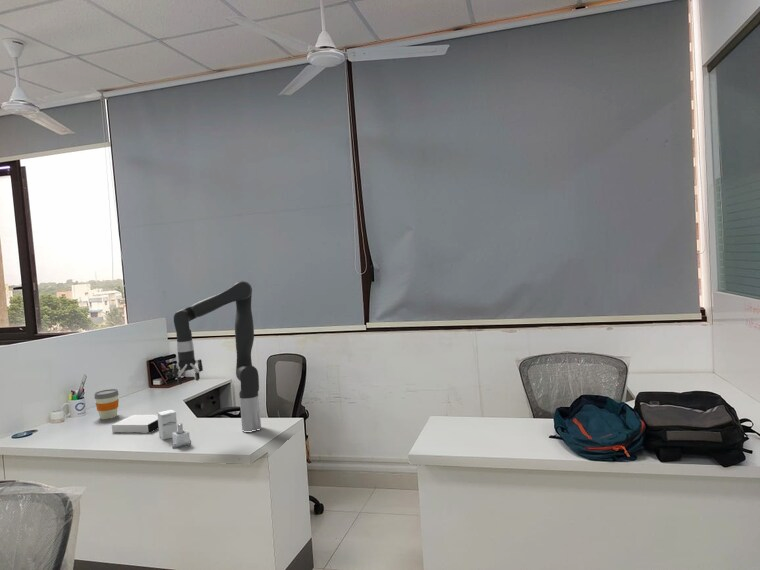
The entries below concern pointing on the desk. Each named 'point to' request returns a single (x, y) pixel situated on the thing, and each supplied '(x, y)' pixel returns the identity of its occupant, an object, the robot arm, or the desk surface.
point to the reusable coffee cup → (107, 403)
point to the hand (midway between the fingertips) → (188, 382)
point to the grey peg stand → (180, 431)
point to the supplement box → (167, 423)
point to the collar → (181, 438)
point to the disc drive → (137, 424)
